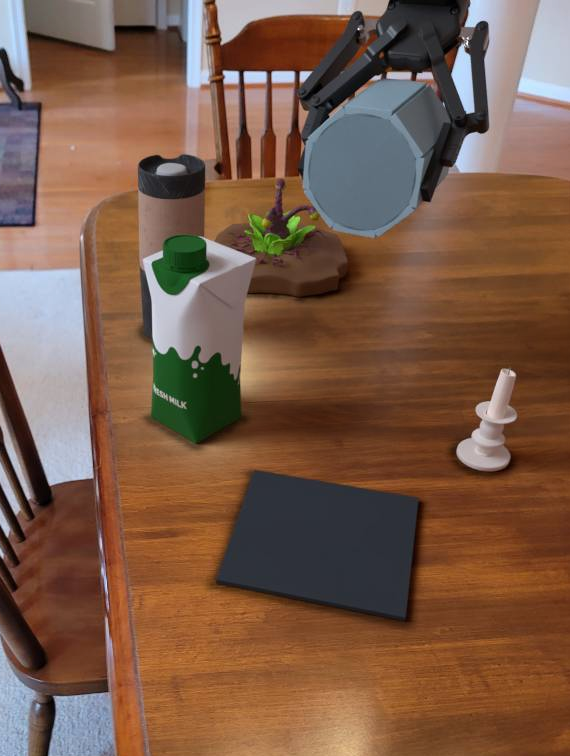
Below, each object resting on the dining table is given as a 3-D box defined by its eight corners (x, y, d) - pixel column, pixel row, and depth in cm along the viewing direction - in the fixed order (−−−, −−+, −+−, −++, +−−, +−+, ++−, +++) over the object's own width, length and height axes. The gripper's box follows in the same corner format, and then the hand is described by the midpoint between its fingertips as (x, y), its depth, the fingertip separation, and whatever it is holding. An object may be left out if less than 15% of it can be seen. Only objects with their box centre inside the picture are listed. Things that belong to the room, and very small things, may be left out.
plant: (347, 241, 124) (358, 163, 117) (345, 301, 110) (357, 217, 103) (214, 232, 127) (216, 155, 119) (195, 290, 113) (196, 207, 105)
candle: (494, 438, 87) (522, 350, 80) (518, 468, 83) (550, 378, 76) (447, 444, 87) (471, 355, 80) (469, 474, 83) (497, 384, 76)
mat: (417, 501, 80) (418, 497, 79) (404, 621, 69) (406, 617, 68) (253, 473, 83) (254, 469, 83) (215, 583, 72) (215, 579, 72)
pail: (336, 192, 94) (348, 74, 86) (441, 209, 89) (464, 86, 81) (299, 224, 88) (308, 100, 80) (410, 245, 83) (431, 115, 75)
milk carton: (138, 417, 91) (132, 236, 77) (196, 386, 95) (200, 210, 82) (196, 451, 86) (201, 265, 72) (254, 416, 91) (269, 235, 77)
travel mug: (173, 351, 101) (174, 181, 87) (128, 330, 105) (122, 165, 91) (214, 328, 105) (220, 163, 92) (169, 309, 109) (169, 147, 95)
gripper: (315, -59, 83) (242, 148, 84) (570, -49, 74) (483, 185, 75) (331, -7, 90) (263, 184, 91) (565, 9, 81) (486, 222, 82)
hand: (362, 185), depth 83 cm, fingers closed on pail, 12 cm apart
